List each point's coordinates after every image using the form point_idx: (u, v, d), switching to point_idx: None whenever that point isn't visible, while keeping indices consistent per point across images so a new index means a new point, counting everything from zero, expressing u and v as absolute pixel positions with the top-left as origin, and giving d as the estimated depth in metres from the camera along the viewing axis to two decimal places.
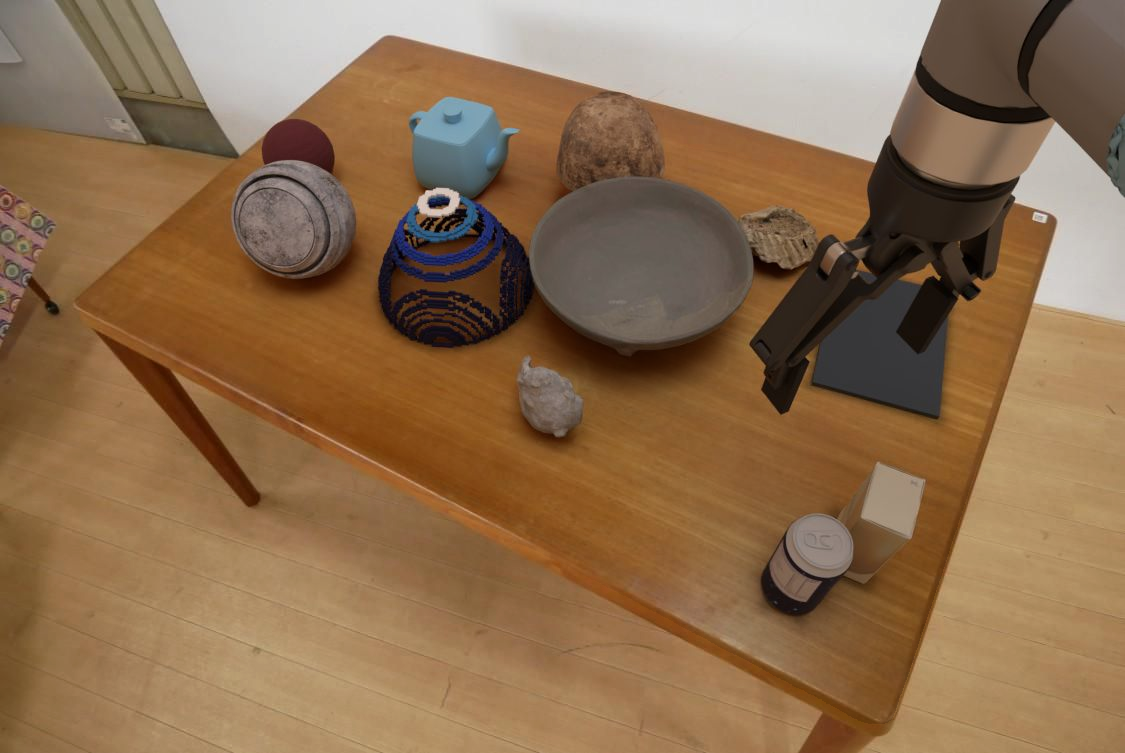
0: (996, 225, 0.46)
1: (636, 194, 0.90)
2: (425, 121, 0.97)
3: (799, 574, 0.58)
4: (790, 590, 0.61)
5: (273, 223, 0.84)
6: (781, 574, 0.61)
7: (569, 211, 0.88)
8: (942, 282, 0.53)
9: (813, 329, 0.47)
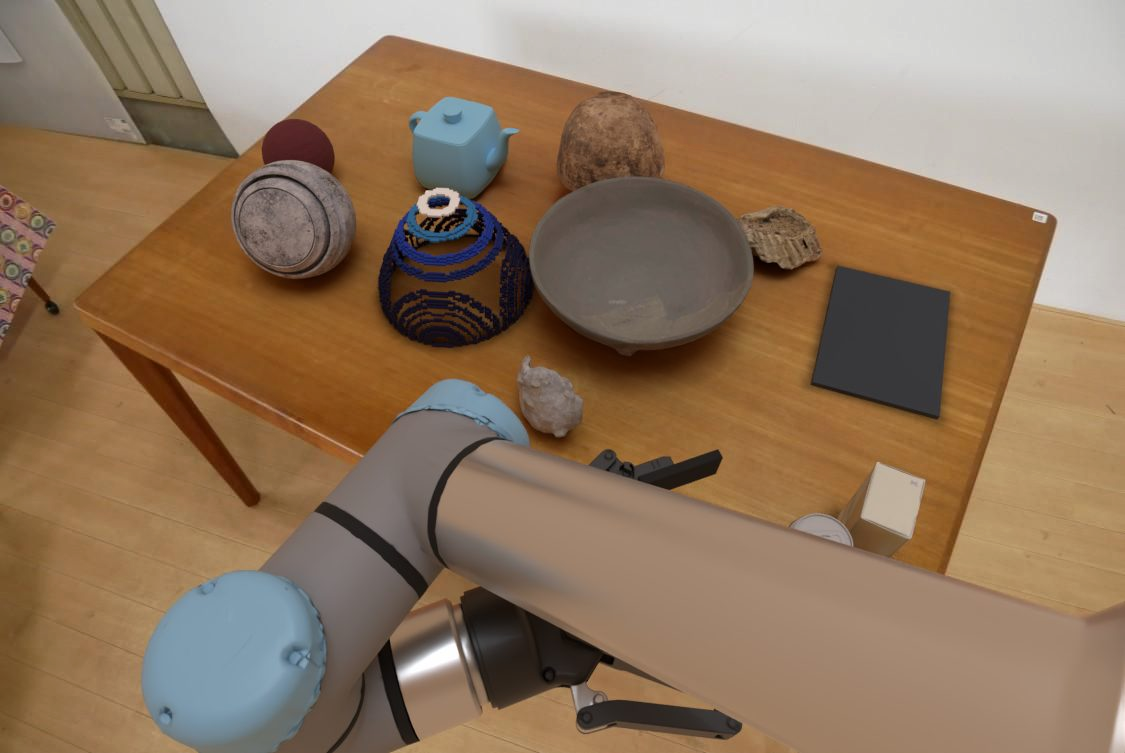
0: None
1: (636, 194, 0.90)
2: (425, 121, 0.97)
3: None
4: None
5: (273, 223, 0.84)
6: None
7: (570, 211, 0.88)
8: None
9: None
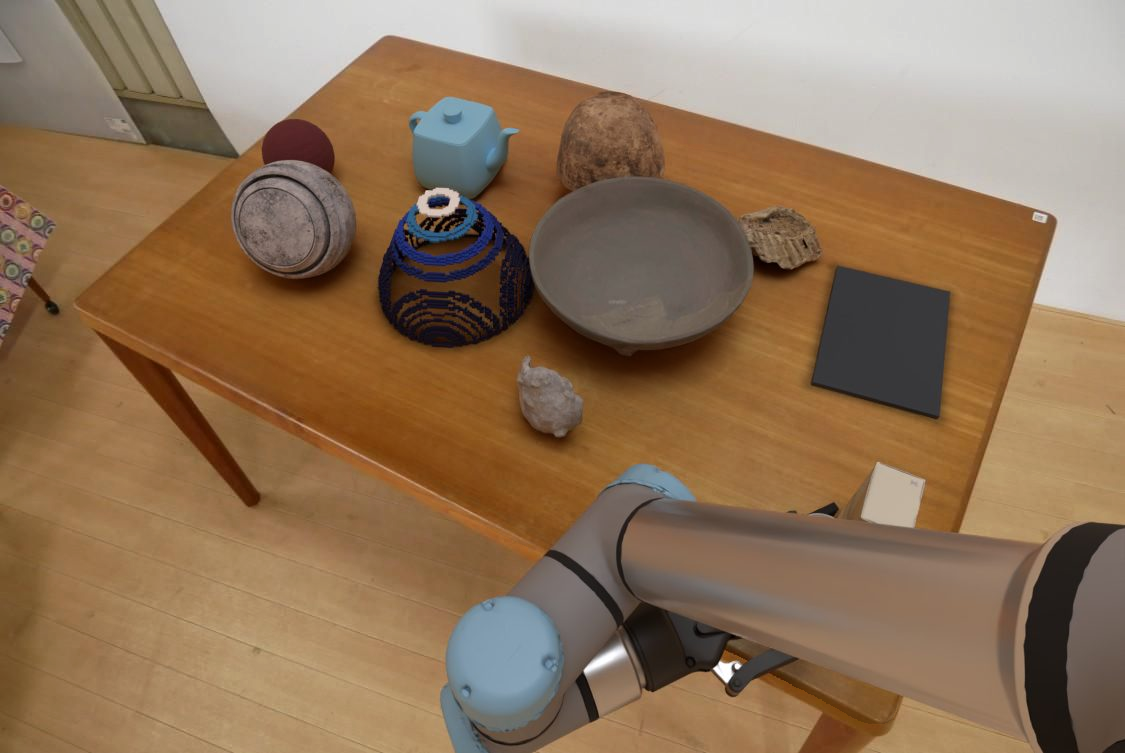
0: None
1: (636, 194, 0.90)
2: (425, 121, 0.97)
3: None
4: None
5: (273, 223, 0.84)
6: None
7: (570, 211, 0.88)
8: None
9: None
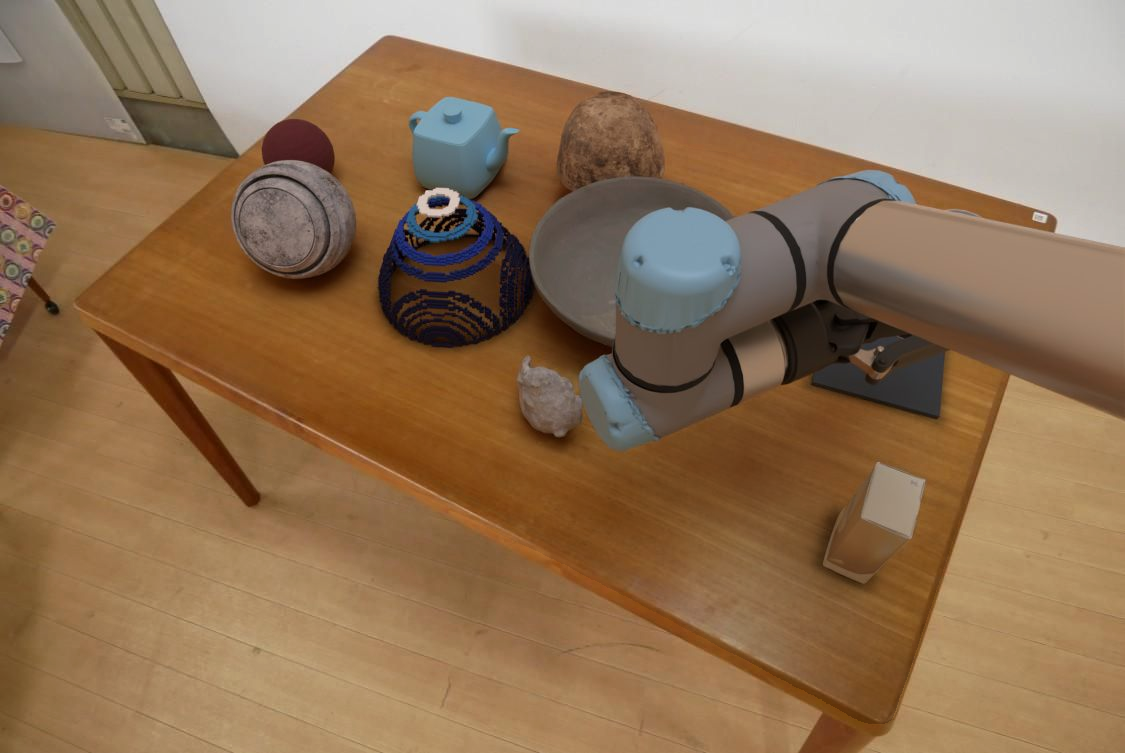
0: None
1: (636, 194, 0.90)
2: (425, 121, 0.97)
3: None
4: None
5: (273, 223, 0.84)
6: None
7: (570, 211, 0.88)
8: None
9: None
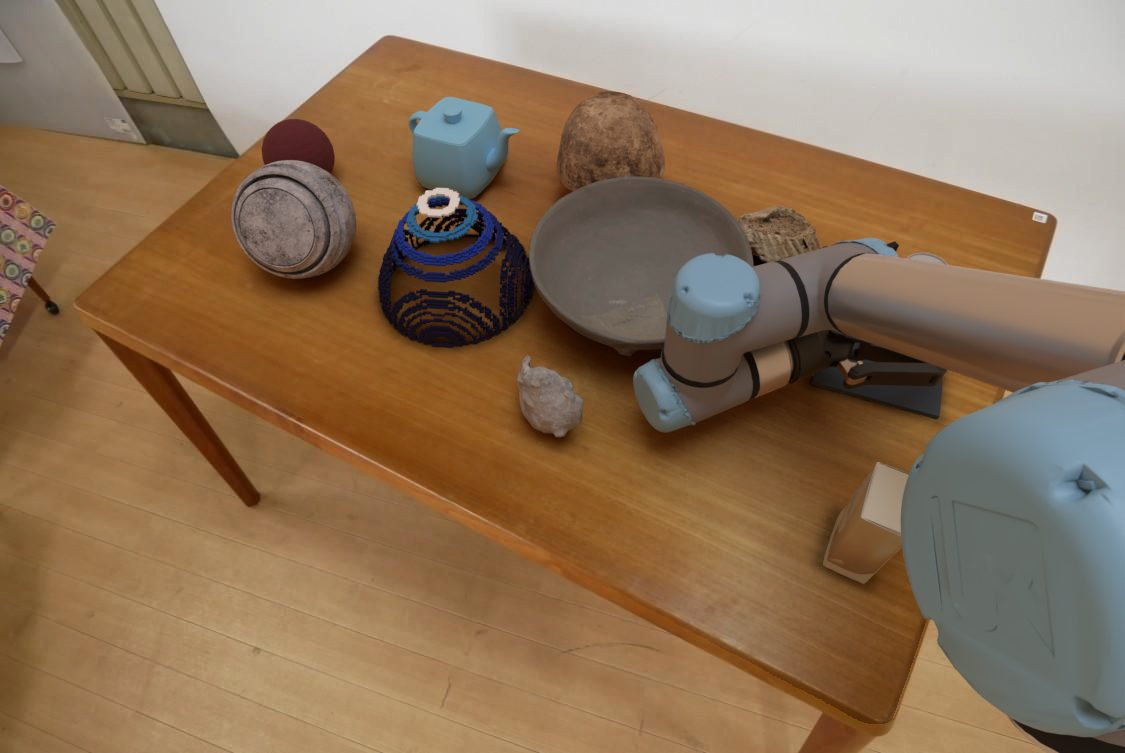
0: None
1: (636, 194, 0.90)
2: (425, 121, 0.97)
3: None
4: None
5: (273, 223, 0.84)
6: None
7: (570, 211, 0.88)
8: None
9: (906, 355, 0.72)
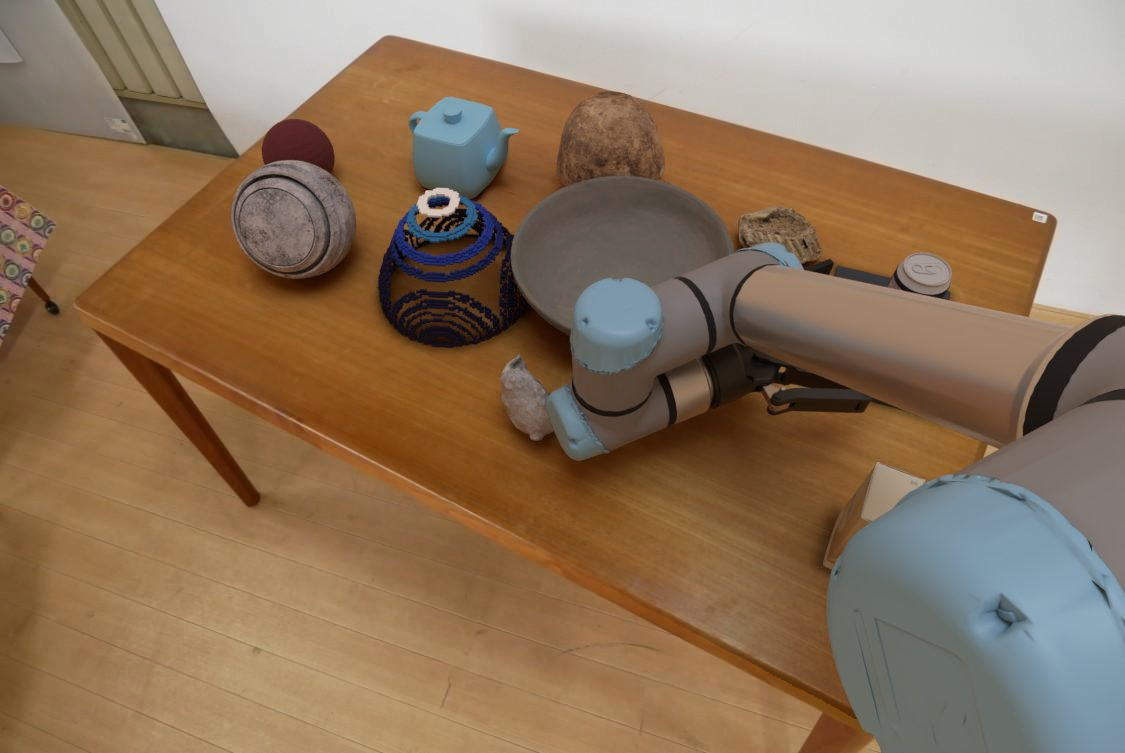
0: None
1: (637, 194, 0.90)
2: (425, 121, 0.97)
3: None
4: None
5: (273, 223, 0.84)
6: None
7: (567, 203, 0.89)
8: None
9: (832, 381, 0.69)
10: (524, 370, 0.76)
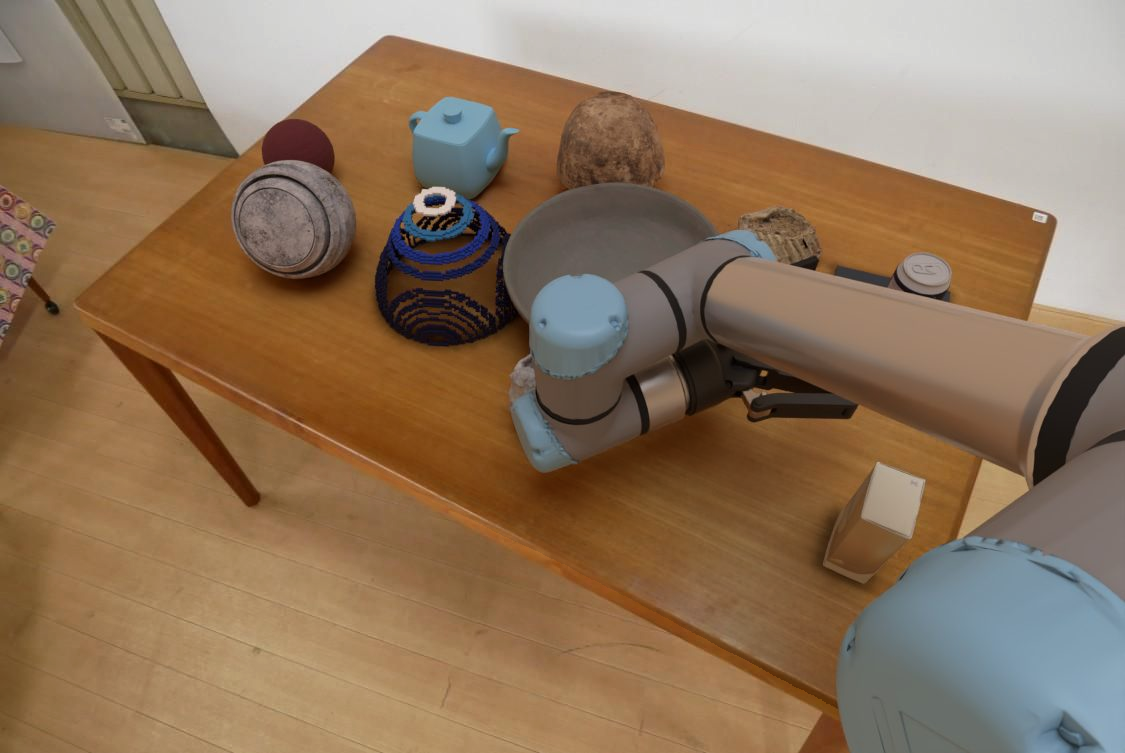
0: None
1: (647, 204, 0.88)
2: (425, 121, 0.97)
3: None
4: None
5: (273, 223, 0.84)
6: None
7: (574, 205, 0.88)
8: None
9: None
10: None
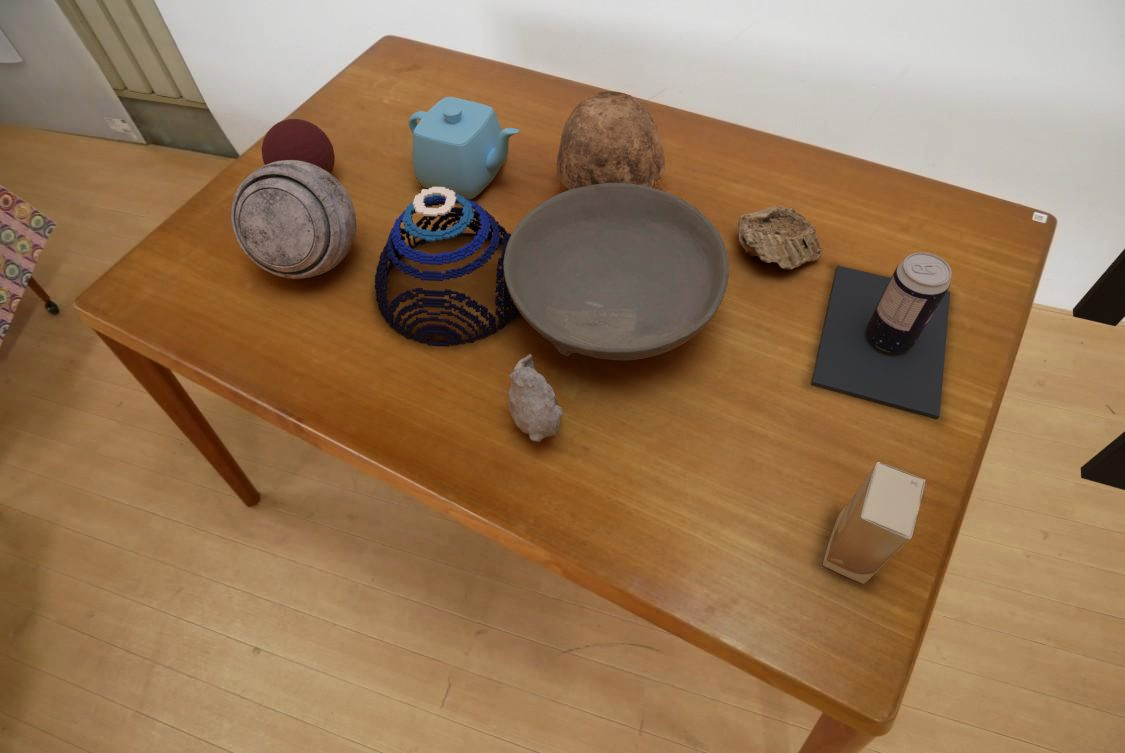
0: None
1: (647, 205, 0.88)
2: (425, 121, 0.97)
3: (908, 296, 0.75)
4: (897, 319, 0.78)
5: (273, 223, 0.84)
6: (890, 306, 0.77)
7: (575, 205, 0.88)
8: None
9: None
10: None
